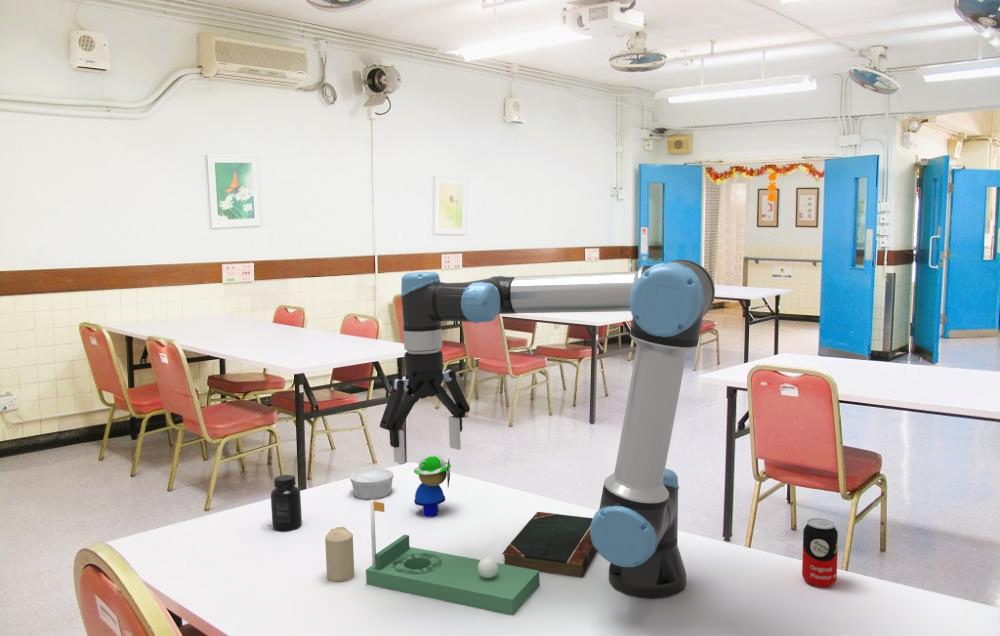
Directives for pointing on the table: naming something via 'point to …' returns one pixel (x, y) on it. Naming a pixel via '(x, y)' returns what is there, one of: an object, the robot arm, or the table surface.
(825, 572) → the beverage can
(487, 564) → the ball
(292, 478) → the supplement bottle
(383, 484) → the ramekin
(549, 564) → the book
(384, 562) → the green
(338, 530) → the candle
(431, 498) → the toy
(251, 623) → the table surface
